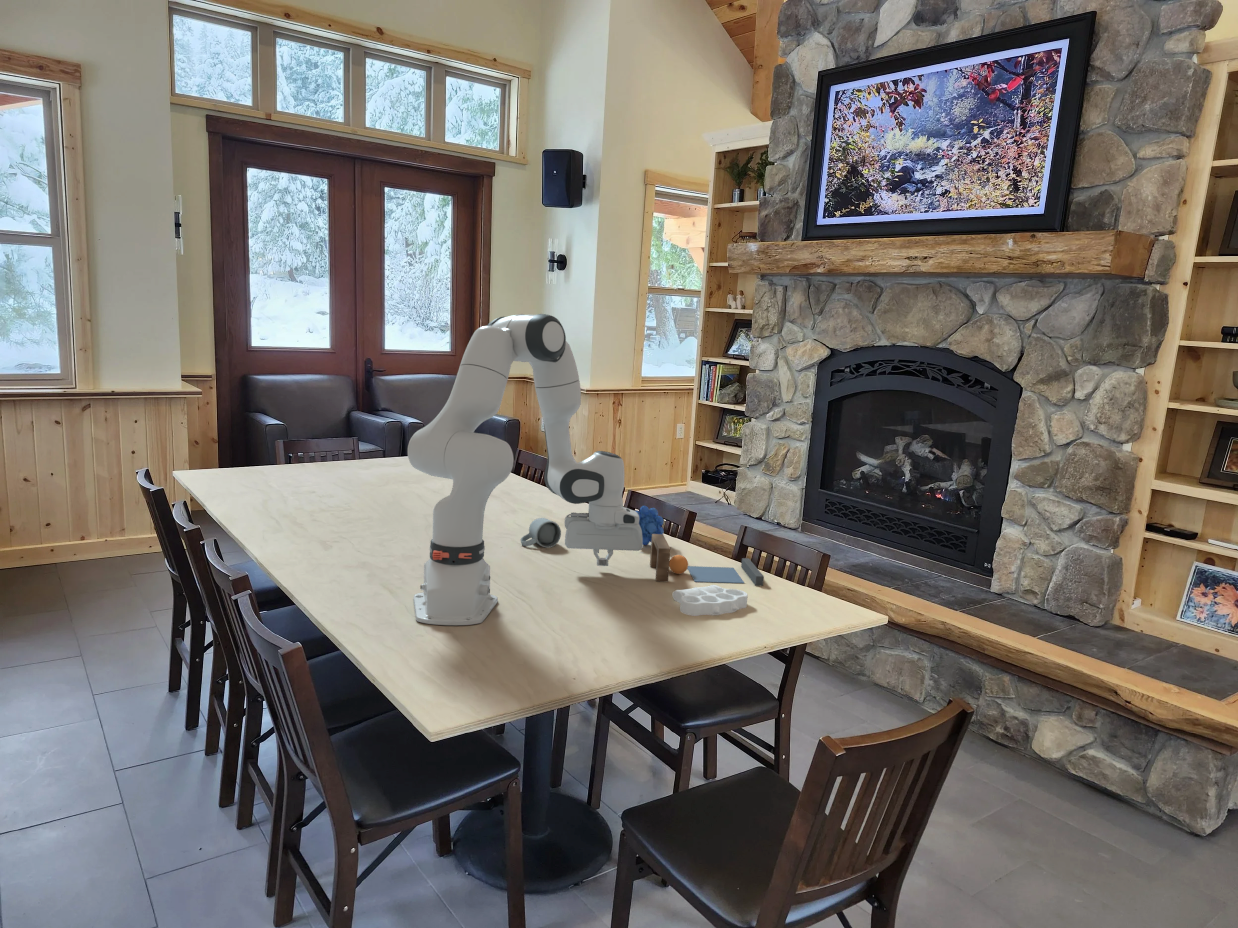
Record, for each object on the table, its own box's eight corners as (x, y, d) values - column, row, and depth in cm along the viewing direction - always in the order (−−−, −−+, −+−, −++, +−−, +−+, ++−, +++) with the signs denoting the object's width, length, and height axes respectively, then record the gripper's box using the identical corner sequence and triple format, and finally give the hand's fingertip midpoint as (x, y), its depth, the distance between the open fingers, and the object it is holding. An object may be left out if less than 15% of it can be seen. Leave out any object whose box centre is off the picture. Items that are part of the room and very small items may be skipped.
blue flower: (635, 550, 240) (637, 509, 238) (624, 544, 246) (626, 504, 244) (669, 547, 245) (672, 507, 243) (658, 541, 251) (661, 502, 249)
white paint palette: (720, 593, 208) (759, 612, 196) (660, 602, 199) (697, 623, 187) (721, 580, 208) (760, 598, 195) (661, 588, 198) (698, 608, 186)
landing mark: (744, 583, 216) (744, 582, 216) (694, 581, 214) (694, 581, 214) (733, 568, 228) (733, 567, 228) (686, 566, 227) (686, 565, 227)
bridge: (660, 565, 227) (662, 534, 225) (668, 581, 213) (670, 548, 212) (649, 564, 227) (651, 533, 225) (656, 581, 213) (658, 548, 211)
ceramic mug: (550, 539, 246) (550, 514, 245) (561, 546, 239) (561, 520, 238) (516, 542, 241) (516, 516, 240) (526, 550, 234) (527, 523, 233)
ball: (667, 563, 217) (675, 579, 218) (685, 555, 217) (692, 571, 218) (664, 557, 222) (671, 573, 223) (681, 549, 222) (688, 565, 223)
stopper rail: (762, 585, 215) (763, 576, 214) (755, 585, 214) (756, 576, 214) (748, 567, 230) (749, 558, 230) (741, 566, 230) (741, 558, 230)
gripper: (565, 515, 212) (562, 567, 214) (645, 518, 214) (641, 570, 216) (564, 509, 218) (562, 560, 220) (642, 512, 220) (639, 562, 222)
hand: (602, 565), depth 218 cm, fingers closed
